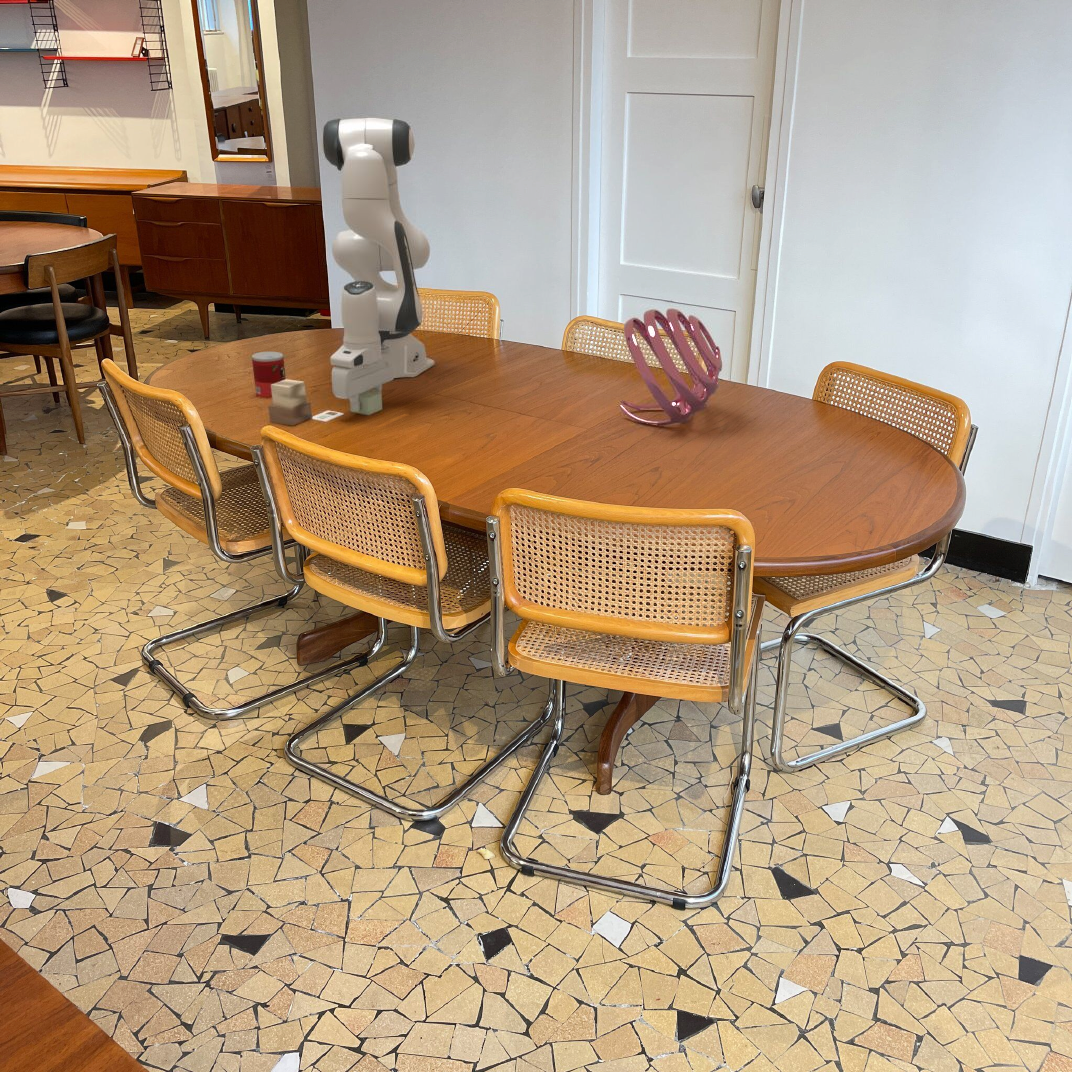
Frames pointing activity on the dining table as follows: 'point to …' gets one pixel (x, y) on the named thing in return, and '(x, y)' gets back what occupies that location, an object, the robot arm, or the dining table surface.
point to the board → (326, 416)
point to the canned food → (267, 372)
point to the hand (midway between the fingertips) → (366, 406)
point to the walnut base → (290, 414)
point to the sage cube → (369, 402)
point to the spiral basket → (683, 393)
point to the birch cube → (288, 393)
